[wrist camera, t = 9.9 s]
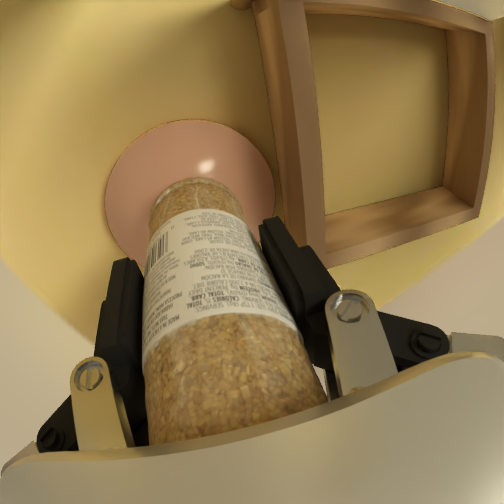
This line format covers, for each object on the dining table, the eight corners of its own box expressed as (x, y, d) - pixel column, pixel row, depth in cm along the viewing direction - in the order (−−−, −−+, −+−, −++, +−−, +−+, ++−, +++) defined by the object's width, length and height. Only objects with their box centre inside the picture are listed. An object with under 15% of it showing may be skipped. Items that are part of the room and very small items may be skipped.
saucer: (258, 101, 14) (262, 103, 13) (280, 248, 19) (283, 253, 18) (83, 151, 13) (80, 154, 12) (140, 286, 18) (140, 293, 18)
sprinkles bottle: (202, 271, 16) (270, 547, 5) (129, 227, 14) (121, 563, 3) (261, 209, 15) (417, 496, 4) (189, 152, 12) (299, 566, 2)
